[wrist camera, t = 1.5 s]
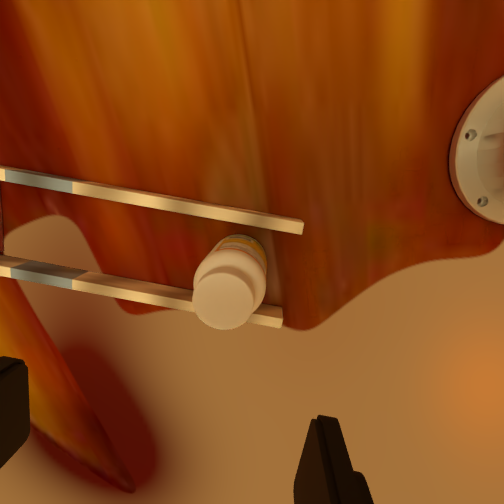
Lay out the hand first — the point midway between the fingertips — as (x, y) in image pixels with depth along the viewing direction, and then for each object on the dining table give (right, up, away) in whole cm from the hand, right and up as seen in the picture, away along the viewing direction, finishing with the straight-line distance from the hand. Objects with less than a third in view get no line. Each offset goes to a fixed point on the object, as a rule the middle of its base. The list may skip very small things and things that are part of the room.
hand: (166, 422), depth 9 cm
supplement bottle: (+2, +5, +18) cm, 19 cm away
